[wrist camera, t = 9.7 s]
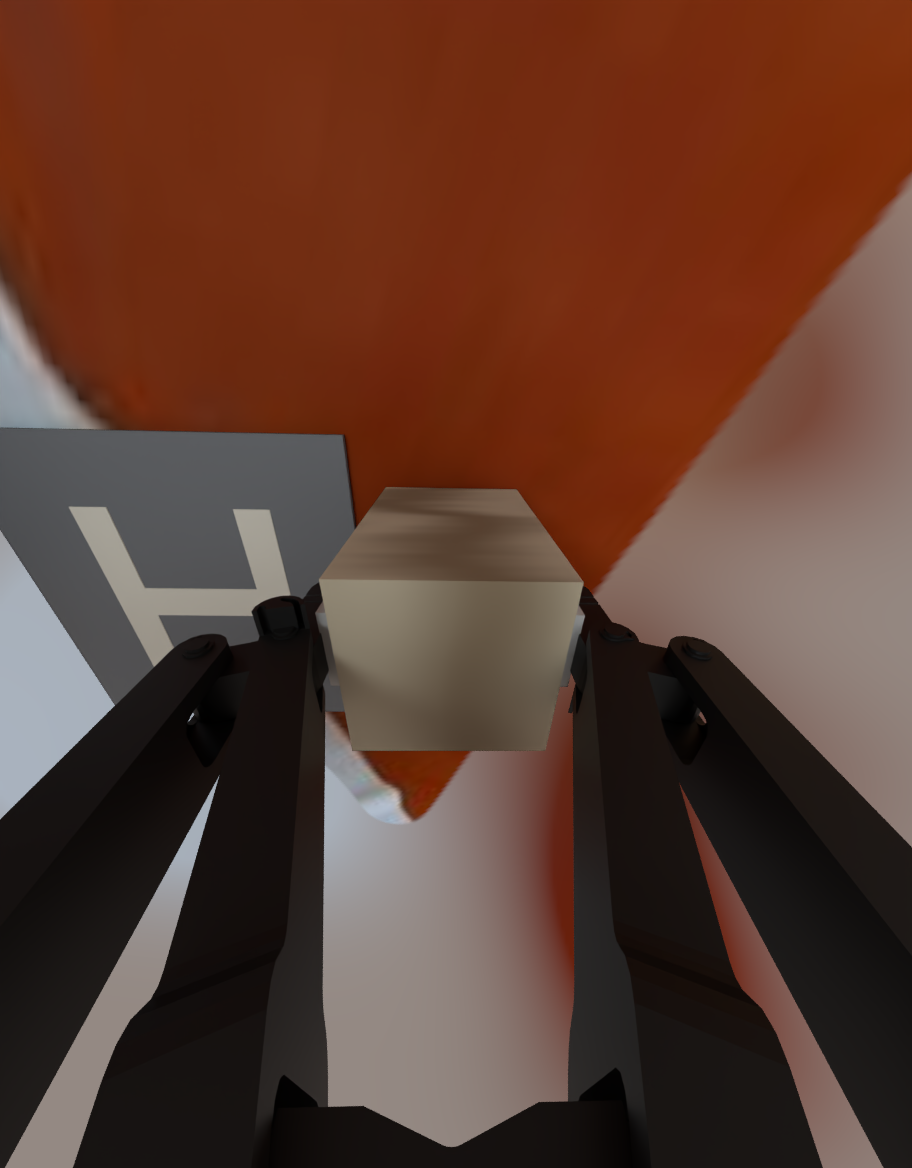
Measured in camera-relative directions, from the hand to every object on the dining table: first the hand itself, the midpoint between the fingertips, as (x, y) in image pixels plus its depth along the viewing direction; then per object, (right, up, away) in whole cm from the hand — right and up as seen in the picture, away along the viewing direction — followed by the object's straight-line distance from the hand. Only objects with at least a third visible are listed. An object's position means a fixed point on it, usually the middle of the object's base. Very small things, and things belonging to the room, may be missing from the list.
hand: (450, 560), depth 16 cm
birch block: (0, +1, +1) cm, 1 cm away
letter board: (-14, -2, +4) cm, 15 cm away
